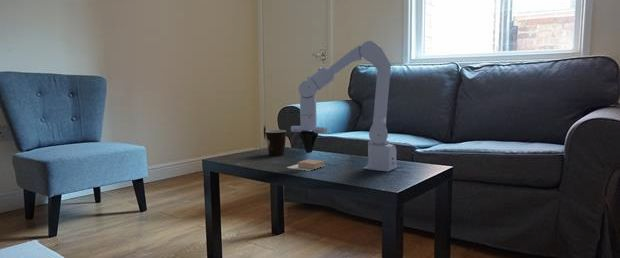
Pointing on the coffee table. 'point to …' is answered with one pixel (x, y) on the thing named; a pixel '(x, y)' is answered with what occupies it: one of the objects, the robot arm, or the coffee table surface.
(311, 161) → the tile
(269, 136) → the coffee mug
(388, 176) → the coffee table surface
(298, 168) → the felt mat
